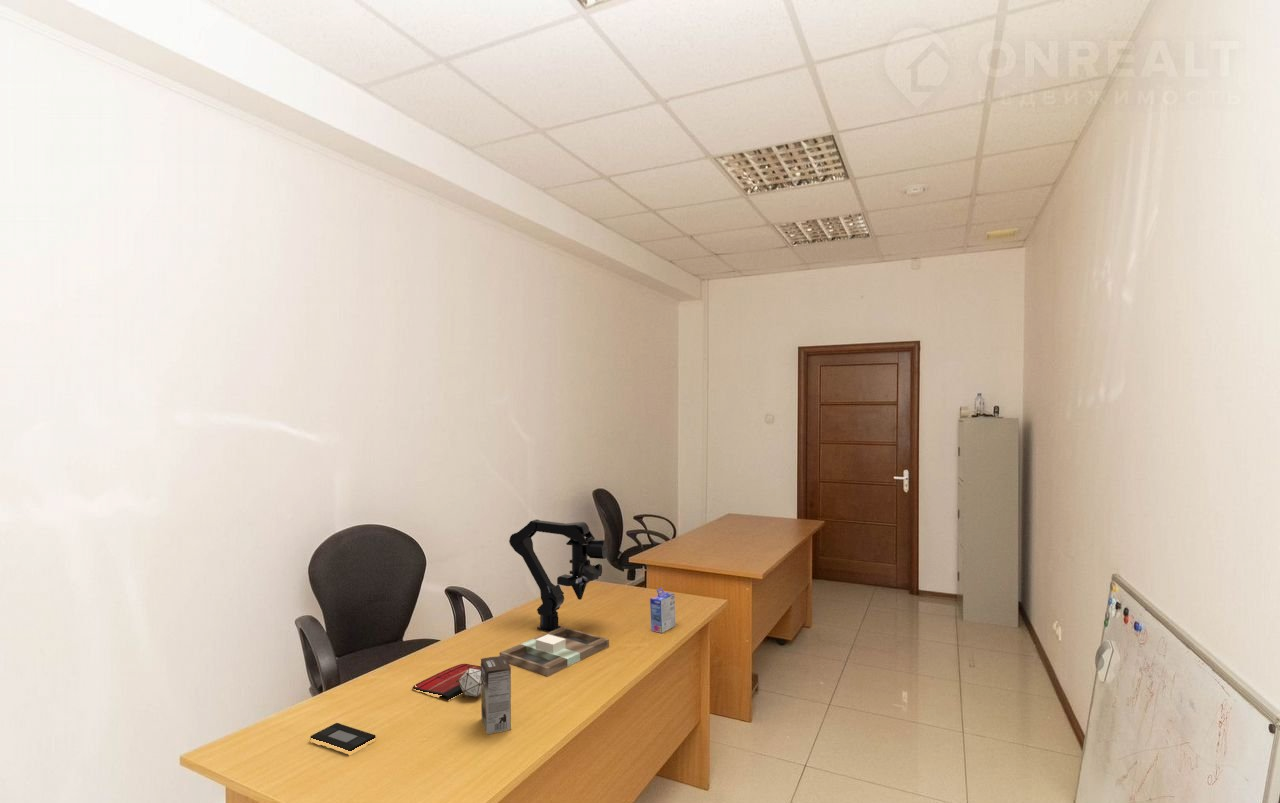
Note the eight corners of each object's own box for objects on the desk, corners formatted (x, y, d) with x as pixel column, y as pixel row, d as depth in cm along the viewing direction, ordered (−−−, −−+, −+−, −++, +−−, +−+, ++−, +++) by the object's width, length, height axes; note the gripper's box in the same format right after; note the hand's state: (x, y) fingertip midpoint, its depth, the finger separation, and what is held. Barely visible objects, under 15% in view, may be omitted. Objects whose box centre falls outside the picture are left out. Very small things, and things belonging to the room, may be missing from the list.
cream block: (535, 648, 209) (535, 639, 209) (548, 643, 214) (548, 634, 214) (553, 653, 204) (553, 644, 204) (565, 648, 209) (565, 639, 209)
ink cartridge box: (664, 623, 240) (663, 585, 241) (676, 626, 237) (676, 587, 237) (649, 630, 232) (649, 591, 232) (662, 633, 229) (661, 594, 229)
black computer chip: (349, 758, 149) (349, 749, 149) (310, 744, 155) (310, 736, 155) (375, 743, 155) (375, 735, 155) (336, 730, 162) (336, 722, 162)
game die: (479, 707, 181) (501, 677, 182) (463, 709, 173) (485, 678, 175) (460, 686, 185) (481, 657, 186) (444, 686, 177) (466, 657, 179)
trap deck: (499, 660, 206) (499, 652, 206) (562, 633, 230) (562, 626, 230) (547, 676, 193) (547, 668, 193) (609, 646, 217) (609, 639, 217)
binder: (499, 668, 195) (447, 695, 176) (499, 675, 194) (448, 703, 176) (461, 660, 202) (409, 685, 184) (462, 667, 202) (409, 694, 184)
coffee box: (480, 719, 166) (480, 658, 166) (504, 714, 169) (504, 654, 169) (486, 735, 158) (486, 671, 158) (511, 730, 160) (511, 666, 161)
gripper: (578, 565, 220) (579, 609, 219) (612, 555, 235) (612, 596, 234) (556, 560, 226) (556, 604, 226) (589, 551, 241) (590, 592, 241)
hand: (579, 599), depth 232 cm, fingers closed
